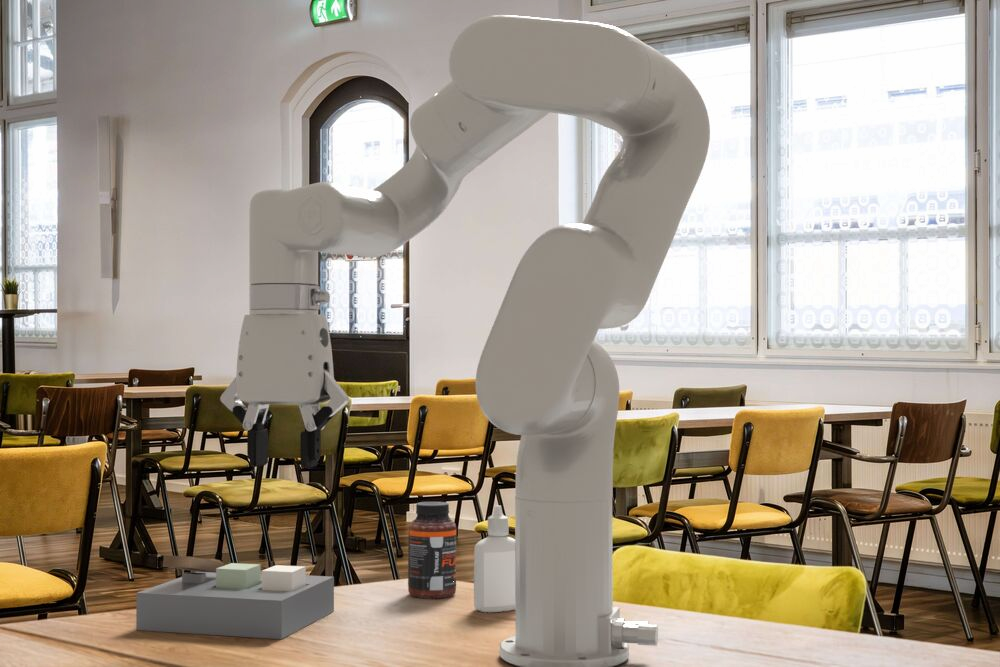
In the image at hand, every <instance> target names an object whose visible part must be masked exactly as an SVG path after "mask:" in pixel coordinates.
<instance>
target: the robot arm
mask: <svg viewBox="0 0 1000 667" xmlns="http://www.w3.org/2000/svg"><path fill="white" fill-rule="evenodd" d="M448 71H449V75H450V78H451V80H452V81H450V82H448V83H447V84H446V85H445V86H444V87H443V88H441V89H439V91H437V92H435V93H434V94H433V95H432V96H431V97H430V98H429V99H427V100H426V101H424V102H423V103H422V104H421V105H419V106H418V107H417V108H415V110H414V111H413V113H412V114H411V116H410V122H409V125H410V126H409V127H410V128H409V129H410V132H411V135H412V139H413V140H414V142H415V145H416V146H415V150H414V152H413V154H412V155H411V157H410V158H409V159H408V161H407V162H406V163H405V164H404V165H403V166H402V167H401V168H400V169H399V170H397V172H395V173H394V174H393V175H392V176H390V177H389V178H388V179H386V180H385V181H383V182H382V183H381V184H379V185H378V186H376V187H375V188H373V189H368V188H364V187H359V186H355V185H349V184H342V183H339V182H333V181H331V182H330V181H321V182H315V183H311V184H307V185H304V186H301V187H297V188H293V189H286V188H283V189H282V188H278V189H277V188H276V189H275V188H274V189H265V190H260V191H258V192H256V193H255V194H253V196H252V197H251V199H250V201H249V202H250V203H249V295H248V296H249V305H248V308H249V314H244V316H243V320H242V324H241V330H240V335H239V340H238V349H237V359H236V360H237V361H236V372H235V373H236V376H235V377H234V379H232V381H231V382H230V384H229V385H228V386H227V388H226V389H225V390H224V392H222V394H221V396H220V398H219V400H220V403H222V404H223V405H224V406H225V407H226V408H227V410H229V411H231V412H232V414H233V416H235V418H236V419H237V420H238V421H239V422H240V423H241V425H242V428H243V429H244V431H247V432H246V433H247V434H246V435H247V436H246V437H247V439H246V442H247V445H246V446H247V447H246V448H247V450H246V451H247V453H246V454H247V457H248V458H247V459H249V466H250V467H251V468H256V467H262V466H266V465H267V464H268V463H269V431H268V428H265V425H264V424H265V420H266V419H267V414H268V411H269V407H270V405H293V406H294V405H298V407H299V412H300V414H301V417H302V420H303V423H304V431H303V430H302V431H301V432H300V436H299V437H300V442H299V443H300V444H299V445H300V449H299V450H300V467H301V468H303V469H309V468H314V467H317V466H318V464H319V462H318V461H319V460H320V459H321V457H322V456H321V455H322V451H321V450H322V446H321V445H322V442H321V441H322V439H321V438H322V434H321V433H322V432H321V431H322V430H324V429H325V427H326V425H327V424H328V422H330V420H332V418H333V417H334V416H335V415H336V413H338V412H339V411H340V410H341V409H342V408H343V407H345V405H347V404H348V403H349V401H350V397H349V396H348V394H347V393H346V392H345V390H344V389H343V388H342V387H341V386H340V384H339V383H338V382H337V381H336V379H335V374H334V373H335V372H334V362H333V361H334V360H333V352H332V343H331V337H330V336H331V335H330V330H329V324H328V319H327V315H326V314H319V310H321V305H323V304H329V303H330V300H331V299H330V297H331V296H330V292H329V291H328V290H327V291H325V290H324V291H323V290H322V289H321V287H320V285H319V252H320V253H327V254H331V255H332V254H335V255H347V256H354V257H363V258H369V259H370V258H378V257H382V256H385V255H387V254H390V253H391V252H393V251H395V250H397V249H398V248H400V247H402V246H403V245H406V243H407V242H410V240H412V239H413V238H414V237H415V236H416V237H417V235H418V234H420V233H421V232H422V231H424V230H425V229H426V228H427V229H428V227H429V226H430V225H432V224H433V223H434V222H435V221H436V220H437V219H438V218H439V217H441V215H442V214H443V213H444V212H445V210H446V209H447V207H448V206H449V204H450V203H451V202H452V200H453V198H455V195H456V194H457V192H458V191H459V189H460V186H461V184H462V181H463V180H464V178H465V177H466V176H467V175H468V174H470V173H471V172H472V171H474V170H475V169H477V167H479V166H480V165H482V164H483V163H485V162H486V161H487V160H488V159H489V158H490V157H492V156H493V155H495V154H496V153H498V152H499V151H500V150H502V149H503V148H504V147H505V146H506V145H508V144H509V143H511V142H512V141H514V140H515V139H516V138H518V137H519V136H520V135H522V134H523V133H524V132H526V131H527V130H529V129H530V128H531V127H533V125H535V124H536V123H537V122H539V121H540V120H542V119H543V118H544V117H546V116H547V115H549V114H550V113H551V114H552V113H554V114H560V115H566V116H572V117H578V118H582V119H586V120H588V121H592V122H593V123H596V124H598V125H600V126H603V127H605V128H607V129H611V130H614V131H615V132H617V133H618V134H619V135H620V136H621V139H622V144H621V148H620V150H619V152H618V154H617V155H616V156H615V157H614V159H613V160H612V162H611V163H610V164H609V166H608V167H607V169H606V170H605V172H604V174H603V175H602V177H601V180H600V181H599V184H598V187H597V190H596V192H595V195H594V198H593V200H592V202H591V204H590V206H589V209H588V211H587V213H586V215H585V217H584V219H583V221H582V223H577V222H574V223H571V222H570V223H565V224H560V225H557V226H555V227H552V228H550V229H548V230H547V231H544V233H542V234H541V235H539V236H538V237H537V238H536V239H535V240H534V241H533V242H532V243H531V244H530V246H529V247H528V248H527V250H526V251H525V252H524V254H523V255H522V257H521V258H520V261H519V262H518V264H517V267H516V268H515V271H514V274H513V276H512V278H511V280H510V283H509V285H508V288H507V290H506V292H505V295H504V297H503V300H502V303H501V305H500V307H499V310H498V312H497V315H496V317H495V320H494V321H493V324H492V327H491V329H490V332H489V334H488V337H487V338H486V341H485V344H484V346H483V349H482V351H481V354H480V358H479V360H478V364H477V367H476V368H477V369H476V374H475V375H476V376H475V393H476V394H475V395H476V399H477V403H478V405H479V407H480V410H481V411H482V413H483V415H484V417H486V419H487V420H488V421H489V422H490V423H491V424H492V425H493V426H495V427H496V428H498V429H499V430H501V431H503V432H505V433H508V434H513V435H517V436H518V435H519V436H520V440H519V446H518V451H517V455H516V456H517V457H516V466H515V496H514V500H515V501H514V506H515V507H514V508H515V510H514V514H515V515H514V518H515V519H514V520H515V521H514V522H515V523H514V524H515V525H514V526H515V527H514V528H515V529H514V531H515V533H514V534H515V535H514V536H515V537H514V539H515V610H514V611H515V616H514V617H515V635H512V636H510V637H507V638H505V639H504V640H502V642H501V643H499V656H500V658H501V659H502V660H504V662H506V663H508V664H510V665H513V666H515V667H616V666H618V665H620V664H623V663H625V662H626V661H627V660H628V659H629V656H630V652H629V651H630V650H629V649H630V647H629V644H636V645H638V646H654V647H657V646H658V641H659V627H658V626H659V625H657V624H650V623H649V621H638V620H636V621H626V620H625V618H624V617H622V618H621V617H620V615H621V613H620V612H621V610H620V609H621V608H620V606H614V605H613V602H614V600H613V598H614V596H613V593H614V592H613V590H614V589H613V586H614V584H613V577H614V576H613V574H614V573H613V568H614V567H613V565H614V563H613V560H614V559H613V495H614V493H613V491H614V490H613V488H614V487H613V486H614V485H613V483H614V481H613V480H614V478H613V477H614V474H613V473H614V472H613V471H614V468H613V467H614V447H615V436H616V435H615V434H616V428H617V422H618V421H617V419H618V414H619V404H620V381H619V375H618V372H617V368H616V365H615V363H614V361H613V360H612V357H611V355H610V354H609V353H608V352H607V350H605V348H604V347H603V346H602V345H600V344H599V343H598V342H596V341H595V338H596V336H597V334H598V331H599V329H600V330H602V329H603V330H605V329H606V330H607V329H615V328H619V327H623V326H626V325H627V324H630V323H631V322H632V321H633V320H635V319H636V318H637V317H638V316H639V315H640V314H641V312H642V311H643V309H644V308H645V306H646V304H647V302H648V300H649V298H650V295H651V292H652V290H653V288H654V285H655V283H656V280H657V277H658V276H659V274H660V271H661V270H662V269H661V268H662V266H663V263H664V261H665V259H666V257H667V254H668V253H669V252H668V251H669V249H670V247H671V245H672V242H673V241H674V238H675V235H676V233H677V230H678V228H679V225H680V223H681V220H682V218H683V215H684V212H685V210H686V207H687V205H688V204H689V200H690V199H691V197H692V194H693V193H694V190H695V187H696V186H697V183H698V180H699V178H700V177H701V173H702V171H703V169H704V166H705V162H706V159H707V155H708V152H709V146H710V140H711V138H710V137H711V126H710V119H709V115H708V110H707V106H706V103H705V101H704V100H703V98H702V96H701V94H700V92H699V90H698V89H697V87H696V86H695V84H694V83H693V81H692V80H691V79H690V78H689V76H688V75H686V73H685V72H684V71H683V70H682V69H681V68H680V67H679V66H678V65H676V63H674V62H673V61H672V60H671V59H670V58H668V57H667V56H665V55H664V53H662V52H660V51H658V50H657V49H655V48H654V47H652V46H650V45H649V44H647V43H645V42H644V41H642V40H640V39H639V38H637V37H636V36H635V35H632V34H631V33H629V32H628V31H625V30H623V29H621V28H619V27H616V26H615V25H614V26H613V25H609V24H605V23H600V22H592V21H591V22H590V21H581V20H580V21H579V20H569V19H567V20H566V19H555V18H554V19H553V18H543V17H533V16H532V17H531V16H521V15H520V16H519V15H509V14H508V15H507V14H497V15H489V16H485V17H482V18H479V19H477V20H475V21H473V22H472V23H470V24H469V25H467V26H465V28H464V29H463V30H462V31H461V33H459V35H457V37H456V39H455V40H454V42H453V43H452V47H451V49H450V52H449V58H448ZM326 402H327V403H326ZM244 403H245V404H246V405H245V404H244ZM323 403H326V405H324V406H322V407H321V406H320V404H323ZM247 404H248V405H247Z"/></svg>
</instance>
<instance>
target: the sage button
mask: <svg viewBox="0 0 1000 667" xmlns="http://www.w3.org/2000/svg"><path fill="white" fill-rule="evenodd" d="M261 573H262V570H261V564H260V563H259V564H258V563H257V564H256V563H240V562H239V563H236V562H231V563H228V564H224V566H222V567H219V568H216V588H236V589H249V588H251V587H254V586H256V585H259V584H261Z"/></svg>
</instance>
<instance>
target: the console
mask: <svg viewBox="0 0 1000 667" xmlns="http://www.w3.org/2000/svg"><path fill="white" fill-rule="evenodd" d="M135 598H136V604H135V605H136V609H135V610H136V611H135V612H136V613H135V615H136V617H135V618H136V621H135V622H136V624H135V627H136V631H144V632H145V631H146V632H158V633H159V632H160V633H162V632H163V633H176V634H177V633H179V634H192V635H193V634H195V635H212V636H223V637H224V636H226V637H239V638H240V637H241V638H256V639H257V638H258V639H270V640H271V639H272V640H273V639H274V640H283V639H284V638H287V637H289V636H291V635H292V634H294V633H296V632H298V631H300V630H302V629H304V628H305V627H308V626H310V625H311V624H313V623H316V622H318V621H319V620H320V619H323V618H324V617H327V616H328V615H330V614H332V613H334V612H335V577H334V576H326V575H325V576H324V575H309V574H308V575H307V574H306V586H305V587H303V588H301V589H299V590H296V591H294V592H293V591H274V590H262V572H261V584H259V585H256V586H254V587H251V588H249V589H236V588H216V573H212V572H196V571H189V572H188V571H185V572H182V574H181V576H180V577H177V578H175V579H171V580H169V581H166V582H164V583H161V584H158V585H155V586H153V587H152V586H151V587H150V588H146V589H142V590H140V591H137V592H136V597H135Z"/></svg>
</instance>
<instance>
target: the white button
mask: <svg viewBox="0 0 1000 667" xmlns="http://www.w3.org/2000/svg"><path fill="white" fill-rule="evenodd" d="M306 569H307V566H304V565H303V566H301V565H279V564H275V565H273V566H270V567H268V568H265V569H263V570H261V573H262V590H274V591H293V592H294V591H296V590H299V589H301V588H303V587H305V586H306V575H307V572H306V571H307V570H306Z"/></svg>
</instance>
